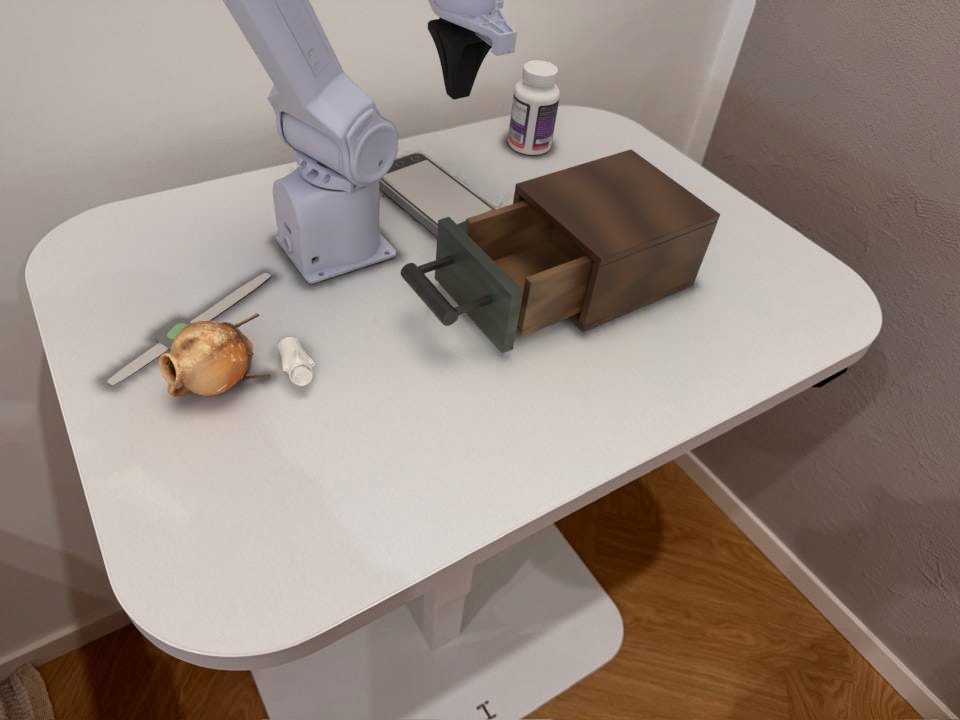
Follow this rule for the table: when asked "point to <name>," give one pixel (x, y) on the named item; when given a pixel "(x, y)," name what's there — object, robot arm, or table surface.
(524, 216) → the rack drawer
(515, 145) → the pill bottle
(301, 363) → the small white plastic part
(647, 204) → the cabinet
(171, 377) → the pot
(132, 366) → the strap with green oval
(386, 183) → the smartphone
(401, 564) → the table surface
